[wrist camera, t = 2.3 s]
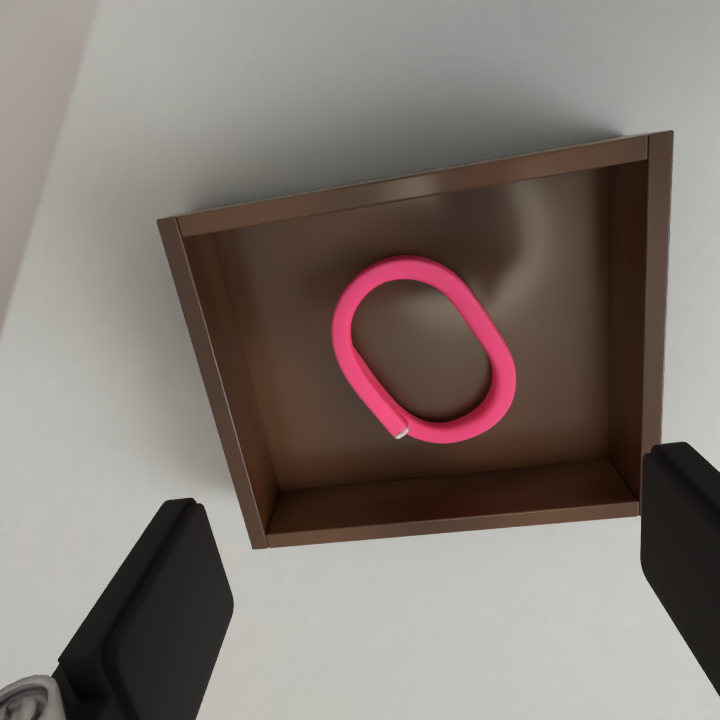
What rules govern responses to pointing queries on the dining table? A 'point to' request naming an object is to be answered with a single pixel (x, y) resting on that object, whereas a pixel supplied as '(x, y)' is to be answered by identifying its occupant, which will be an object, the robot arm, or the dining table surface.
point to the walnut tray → (437, 342)
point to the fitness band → (472, 314)
